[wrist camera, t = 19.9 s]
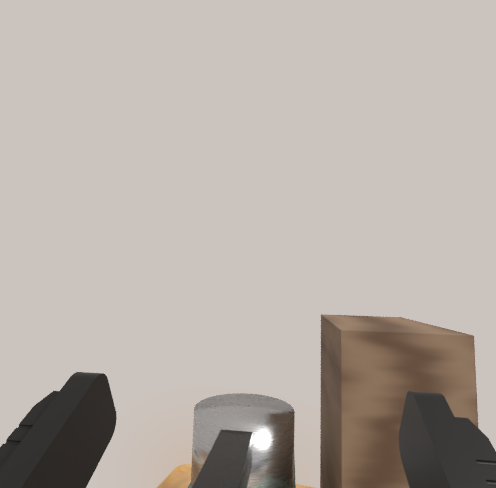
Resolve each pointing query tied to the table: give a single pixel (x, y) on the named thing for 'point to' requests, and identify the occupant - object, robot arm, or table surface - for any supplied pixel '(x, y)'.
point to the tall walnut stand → (384, 392)
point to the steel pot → (243, 442)
